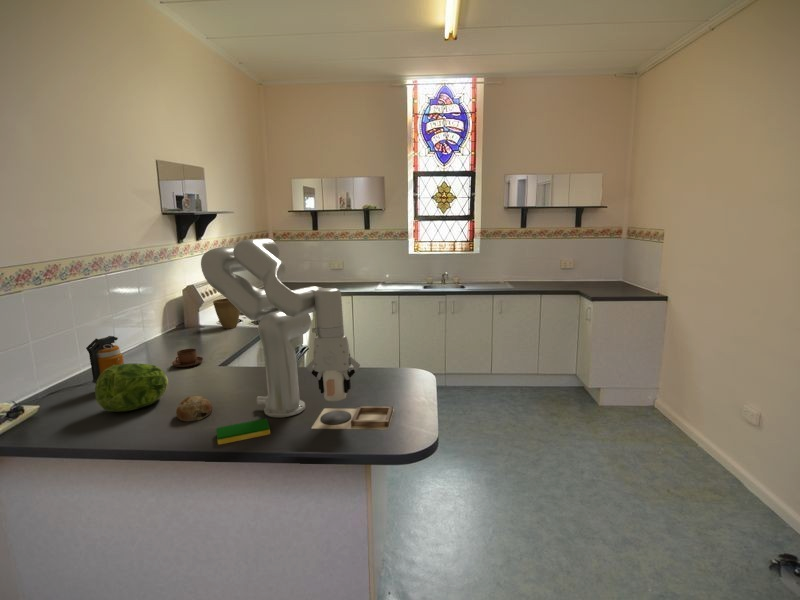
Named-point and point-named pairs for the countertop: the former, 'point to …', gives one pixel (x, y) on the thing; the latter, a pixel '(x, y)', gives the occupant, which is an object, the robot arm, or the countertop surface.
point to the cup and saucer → (187, 358)
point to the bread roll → (193, 408)
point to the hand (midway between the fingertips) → (335, 391)
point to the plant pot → (226, 313)
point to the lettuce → (130, 386)
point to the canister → (103, 355)
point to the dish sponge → (242, 431)
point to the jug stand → (355, 418)
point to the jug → (333, 385)
